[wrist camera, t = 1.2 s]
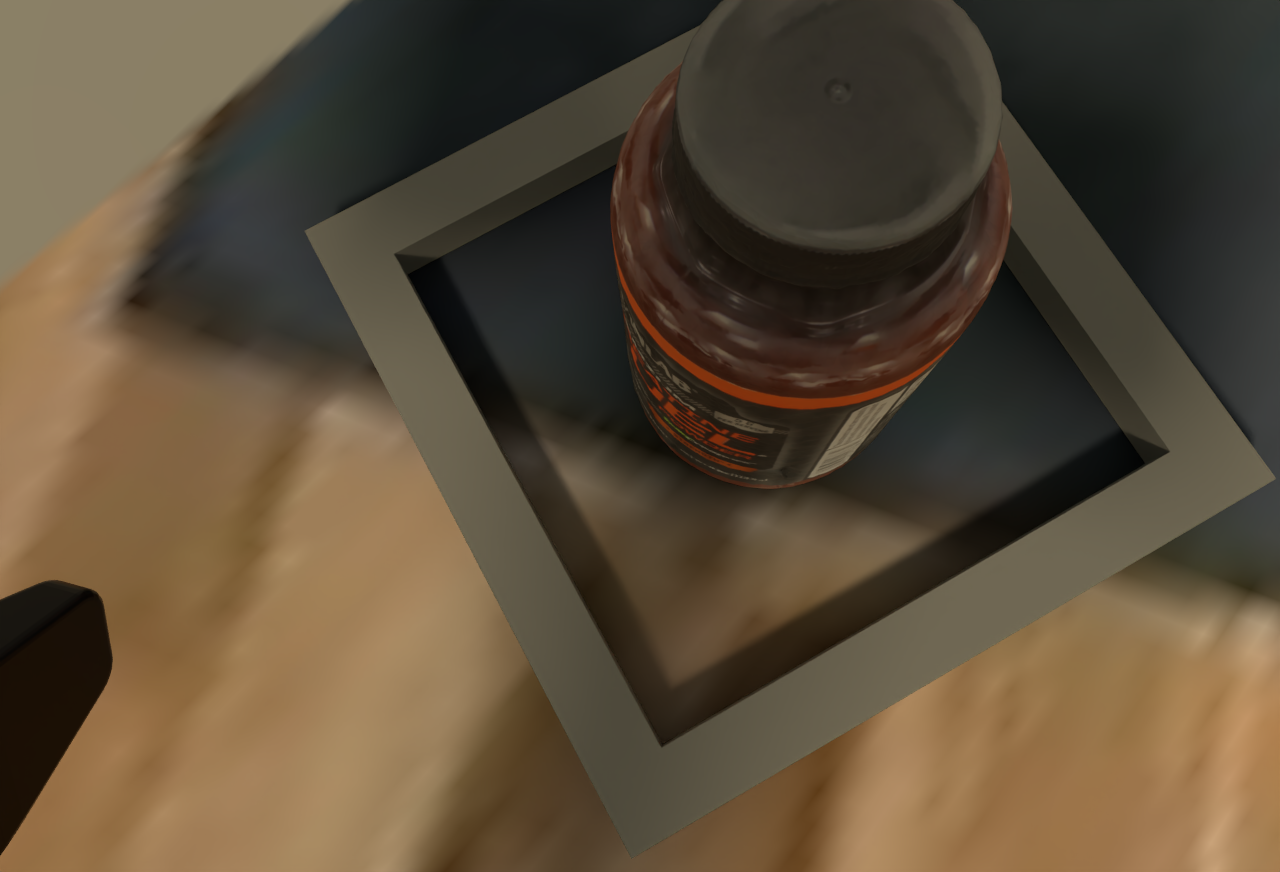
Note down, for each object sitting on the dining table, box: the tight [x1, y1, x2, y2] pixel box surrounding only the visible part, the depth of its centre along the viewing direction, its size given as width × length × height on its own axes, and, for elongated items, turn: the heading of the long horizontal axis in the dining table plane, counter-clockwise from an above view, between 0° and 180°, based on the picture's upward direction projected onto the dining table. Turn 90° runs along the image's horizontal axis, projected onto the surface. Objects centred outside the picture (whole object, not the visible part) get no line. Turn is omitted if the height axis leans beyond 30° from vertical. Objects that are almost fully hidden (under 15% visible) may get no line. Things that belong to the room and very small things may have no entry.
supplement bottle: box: [610, 0, 1013, 489], centre depth 18 cm, size 6×6×11 cm
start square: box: [305, 26, 1276, 859], centre depth 23 cm, size 15×15×1 cm
